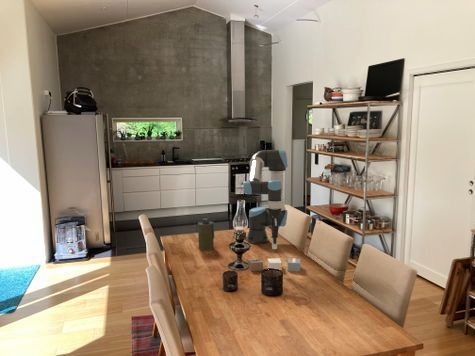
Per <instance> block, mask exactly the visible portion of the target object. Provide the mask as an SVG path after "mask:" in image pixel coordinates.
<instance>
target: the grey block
mask: <svg viewBox="0 0 475 356" xmlns="http://www.w3.org/2000/svg"><path fill="white" fill-rule="evenodd" d="M287 272H299V273H300V272H301V258H295V257H293V258H287Z"/></svg>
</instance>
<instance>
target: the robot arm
mask: <svg viewBox="0 0 475 356" xmlns="http://www.w3.org/2000/svg"><path fill="white" fill-rule="evenodd" d="M287 157H288V156H287V151H286V150H282V149H264V150H263V149H262V150H260V151H257V152H255V154H253V155H252V156H251V157H250V160H249V167H250V168H249V174H248V180H247V181H244V182H243V193H244V194H245V195H267V202H266V204H267V207H268V208H267V209H266V207H264V206H257V207H252V208H251V209H249V212H248V213H249V215H248V221H249V222H248V224H249V225H248V226H249V227H248V233H247V236H246V241H247V242H248V243H250V244H259V245H260V244H264V243H268V242H269V236H268V233H267V228H266V227H270V228H271V237H270V238H271V249H272V250H277V249H278V238H279V232H278V231H279V228H281V227H285V226H286V224H287V219H288V213H289V212H288V210H287V209H286V207H285V206H284V173H285V171H287V168H289V164H288V158H287ZM264 168H267V169H268V171H269V172H270V180H268V181H261V180H262V172H263V169H264Z"/></svg>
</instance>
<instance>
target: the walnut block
mask: <svg viewBox="0 0 475 356" xmlns="http://www.w3.org/2000/svg"><path fill="white" fill-rule="evenodd" d="M247 268H248V269H249V270H250V272H257V271H263V270H264V262H263V260H262V259H261V257H253V258H251V257H250V258H247Z"/></svg>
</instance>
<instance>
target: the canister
mask: <svg viewBox="0 0 475 356" xmlns="http://www.w3.org/2000/svg"><path fill="white" fill-rule="evenodd" d="M197 227H198V228H197V229H198V230H197V234H198V249H199V250H200V251H211V250H214V248H215V245H214V243H215V241H214V239H215V222H214V221H212V220H209V218H201V221H198V222H197Z"/></svg>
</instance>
